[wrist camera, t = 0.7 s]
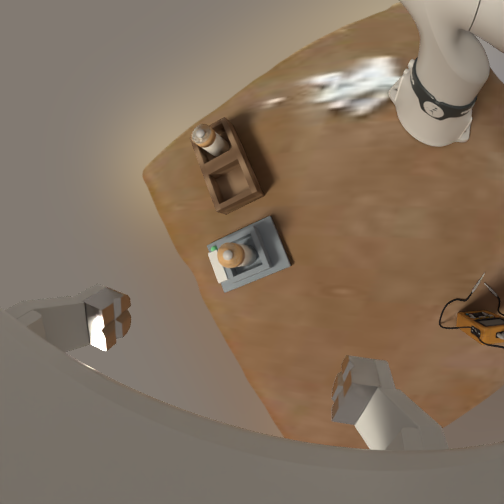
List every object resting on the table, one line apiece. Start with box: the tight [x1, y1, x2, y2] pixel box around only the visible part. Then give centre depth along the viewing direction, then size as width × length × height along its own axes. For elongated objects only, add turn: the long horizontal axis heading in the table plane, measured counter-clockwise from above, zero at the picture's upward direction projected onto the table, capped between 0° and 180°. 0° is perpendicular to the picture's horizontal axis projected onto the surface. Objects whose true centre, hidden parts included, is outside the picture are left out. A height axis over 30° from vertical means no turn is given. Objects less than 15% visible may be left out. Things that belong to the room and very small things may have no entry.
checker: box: [207, 216, 291, 293], centre depth 54 cm, size 10×14×4 cm
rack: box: [190, 117, 264, 215], centre depth 55 cm, size 18×8×4 cm, turn 23°
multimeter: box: [439, 273, 504, 349], centre depth 32 cm, size 15×10×20 cm
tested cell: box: [217, 243, 257, 268], centre depth 50 cm, size 4×4×9 cm
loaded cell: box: [191, 124, 229, 157], centre depth 52 cm, size 4×4×9 cm
